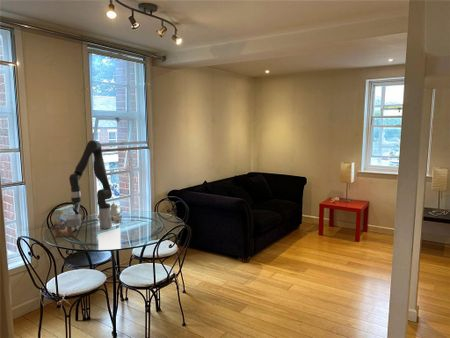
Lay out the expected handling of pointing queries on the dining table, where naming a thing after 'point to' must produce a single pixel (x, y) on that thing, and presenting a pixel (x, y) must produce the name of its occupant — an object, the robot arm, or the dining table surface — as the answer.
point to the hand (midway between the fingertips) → (77, 216)
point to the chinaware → (114, 213)
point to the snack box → (63, 214)
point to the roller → (63, 231)
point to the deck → (58, 234)
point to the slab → (73, 220)
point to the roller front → (72, 228)
